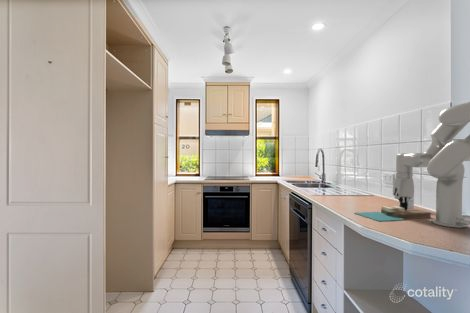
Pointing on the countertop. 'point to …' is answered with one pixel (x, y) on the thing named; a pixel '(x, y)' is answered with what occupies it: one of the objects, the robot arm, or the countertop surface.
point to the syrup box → (410, 203)
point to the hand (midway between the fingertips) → (403, 209)
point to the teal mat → (379, 216)
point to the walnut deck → (409, 214)
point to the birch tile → (393, 209)
